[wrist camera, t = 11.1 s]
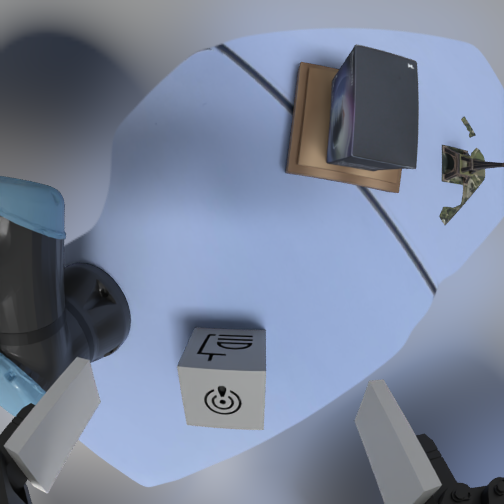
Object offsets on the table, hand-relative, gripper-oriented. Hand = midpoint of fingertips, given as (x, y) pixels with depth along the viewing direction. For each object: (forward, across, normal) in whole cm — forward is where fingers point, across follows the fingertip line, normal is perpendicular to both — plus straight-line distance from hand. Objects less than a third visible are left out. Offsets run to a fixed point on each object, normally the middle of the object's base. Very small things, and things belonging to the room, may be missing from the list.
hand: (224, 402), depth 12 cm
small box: (+23, +12, +17) cm, 31 cm away
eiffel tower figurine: (+27, +30, +15) cm, 43 cm away
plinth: (+26, +12, +17) cm, 34 cm away
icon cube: (+27, -1, -16) cm, 31 cm away
